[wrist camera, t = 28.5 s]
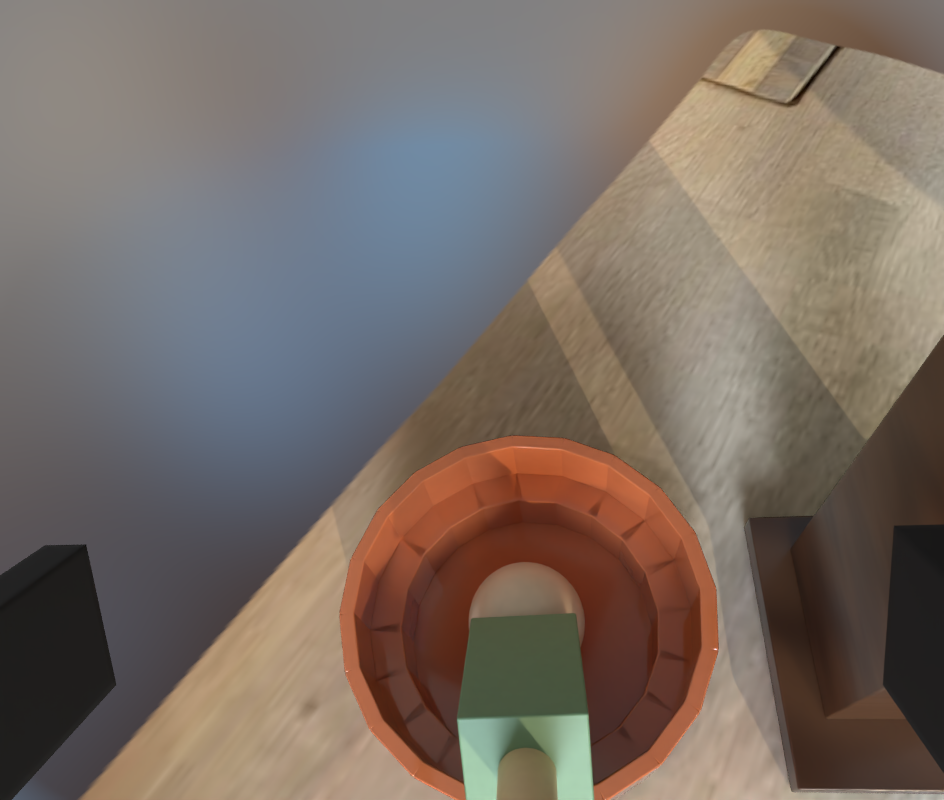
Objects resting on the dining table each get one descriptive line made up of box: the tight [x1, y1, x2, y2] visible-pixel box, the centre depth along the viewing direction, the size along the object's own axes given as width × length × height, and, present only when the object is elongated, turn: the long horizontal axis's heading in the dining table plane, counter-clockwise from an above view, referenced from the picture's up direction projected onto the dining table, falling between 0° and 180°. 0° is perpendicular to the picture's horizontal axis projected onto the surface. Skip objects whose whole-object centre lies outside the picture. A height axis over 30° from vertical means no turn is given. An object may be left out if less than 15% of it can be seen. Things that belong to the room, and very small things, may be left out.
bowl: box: [339, 435, 719, 800], centre depth 31 cm, size 14×14×6 cm
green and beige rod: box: [457, 562, 594, 800], centre depth 22 cm, size 23×5×5 cm
